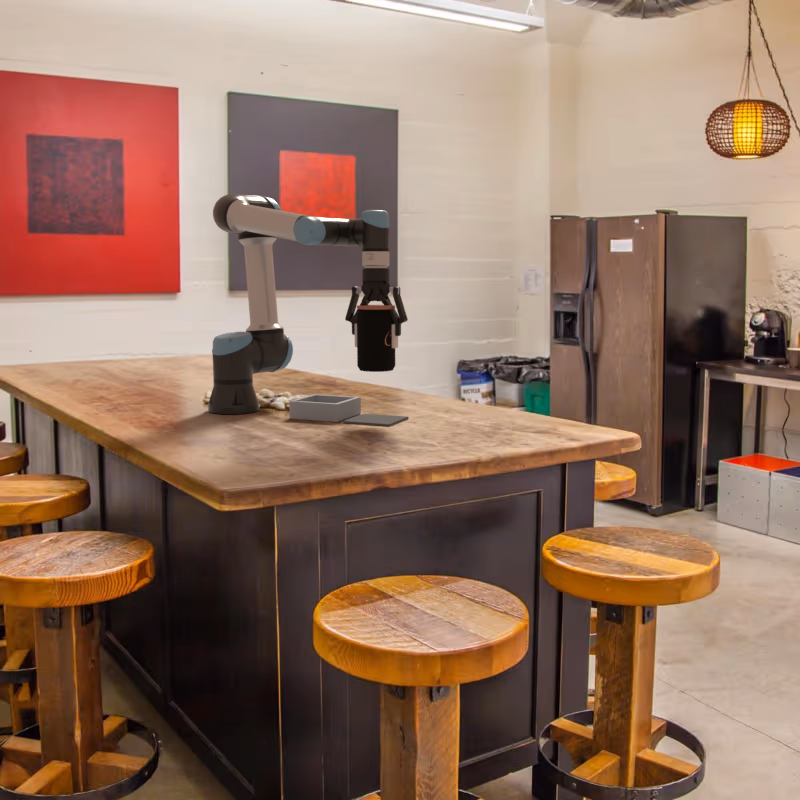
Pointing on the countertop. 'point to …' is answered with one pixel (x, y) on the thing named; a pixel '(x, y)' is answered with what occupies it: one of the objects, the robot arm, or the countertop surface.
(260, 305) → the robot arm
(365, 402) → the countertop surface
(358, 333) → the coffee jar
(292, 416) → the pocket frame
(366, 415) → the pad
